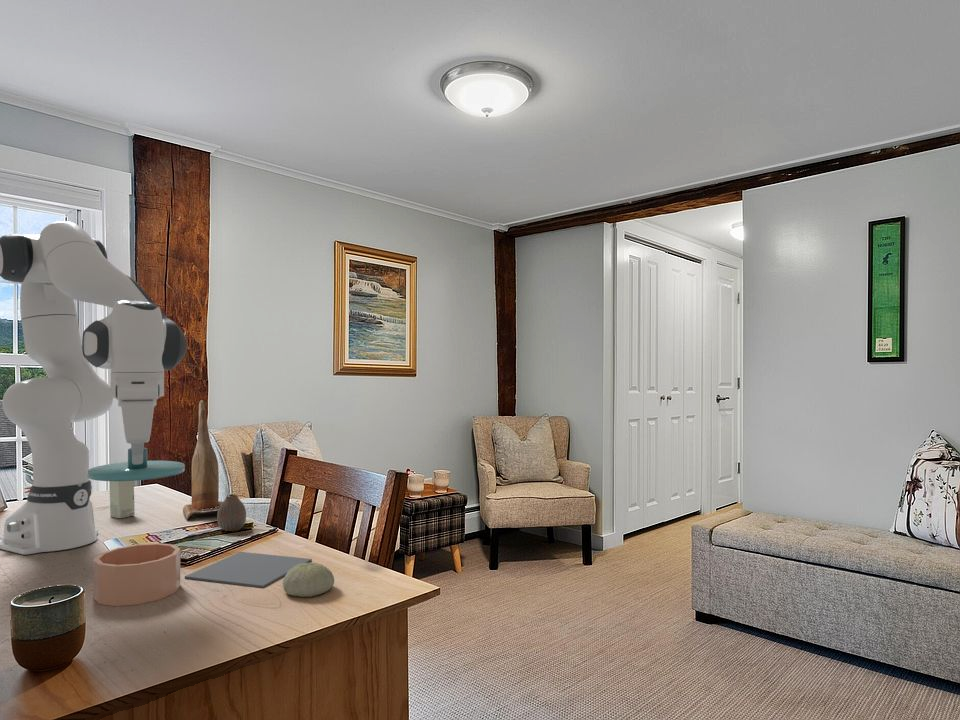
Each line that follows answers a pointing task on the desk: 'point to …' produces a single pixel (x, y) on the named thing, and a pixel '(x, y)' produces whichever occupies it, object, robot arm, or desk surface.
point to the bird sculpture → (203, 472)
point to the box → (122, 499)
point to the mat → (248, 569)
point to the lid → (136, 470)
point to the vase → (231, 514)
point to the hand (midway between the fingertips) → (137, 462)
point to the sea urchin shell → (308, 580)
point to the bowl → (136, 574)
